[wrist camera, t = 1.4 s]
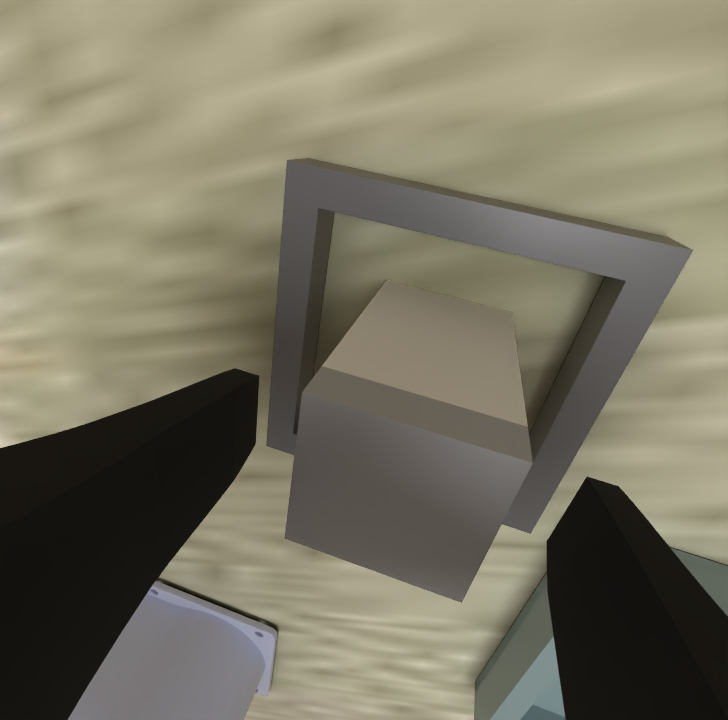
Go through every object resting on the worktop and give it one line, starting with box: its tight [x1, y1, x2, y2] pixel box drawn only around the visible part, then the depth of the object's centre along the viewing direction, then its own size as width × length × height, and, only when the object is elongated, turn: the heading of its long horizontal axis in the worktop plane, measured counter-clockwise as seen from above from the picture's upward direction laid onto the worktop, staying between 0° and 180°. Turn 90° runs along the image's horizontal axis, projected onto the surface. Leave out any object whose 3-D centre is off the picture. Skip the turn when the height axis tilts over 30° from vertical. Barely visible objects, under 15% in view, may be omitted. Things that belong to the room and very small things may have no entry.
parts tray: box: [474, 548, 728, 720], centre depth 17 cm, size 13×13×2 cm
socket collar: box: [266, 158, 693, 534], centre depth 13 cm, size 10×10×2 cm
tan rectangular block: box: [285, 280, 533, 603], centre depth 11 cm, size 4×4×7 cm
